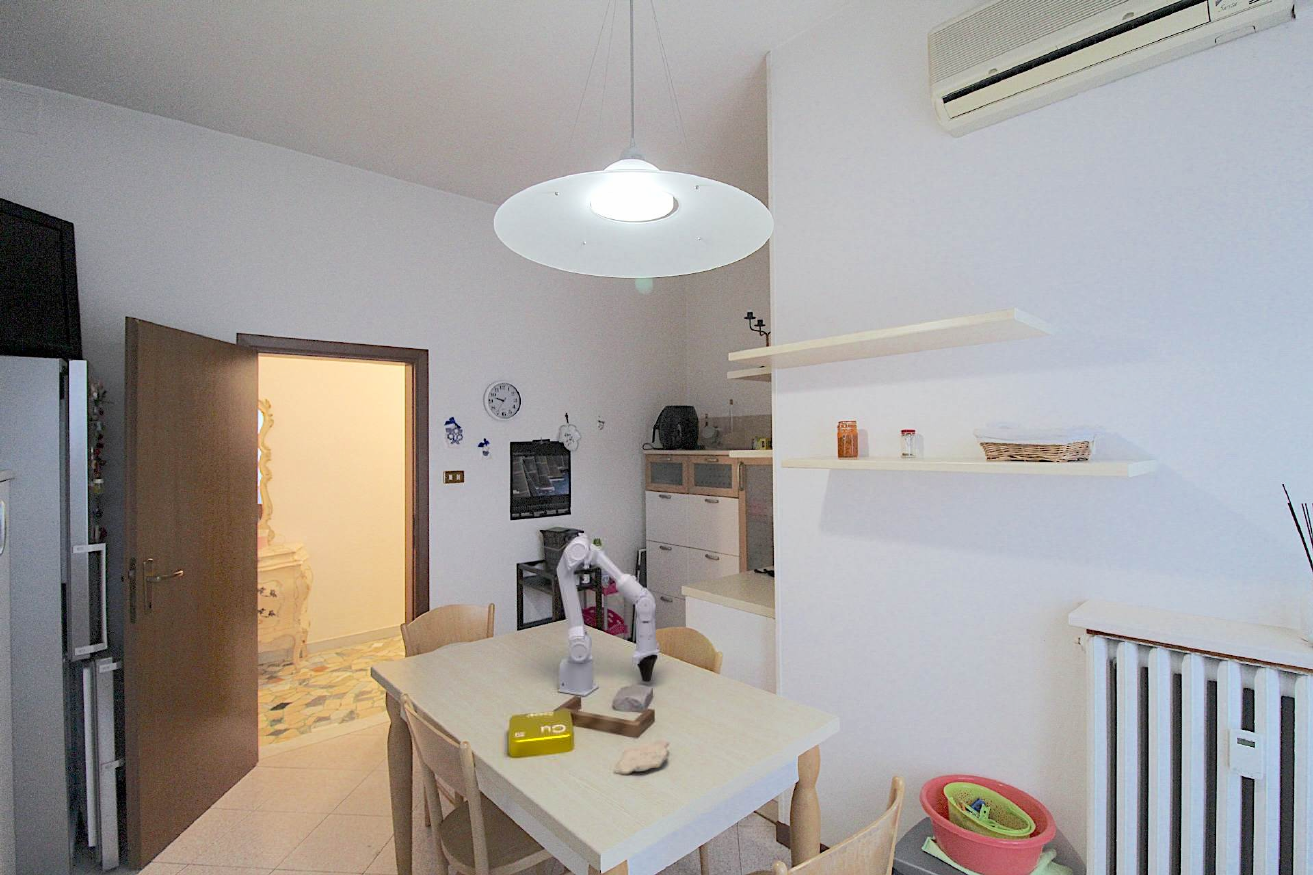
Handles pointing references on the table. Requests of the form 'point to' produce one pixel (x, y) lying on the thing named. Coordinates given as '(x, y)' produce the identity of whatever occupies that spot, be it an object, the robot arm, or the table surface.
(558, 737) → the element tile
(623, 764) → the decorative stone
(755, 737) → the table surface
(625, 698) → the stone block
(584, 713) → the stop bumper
